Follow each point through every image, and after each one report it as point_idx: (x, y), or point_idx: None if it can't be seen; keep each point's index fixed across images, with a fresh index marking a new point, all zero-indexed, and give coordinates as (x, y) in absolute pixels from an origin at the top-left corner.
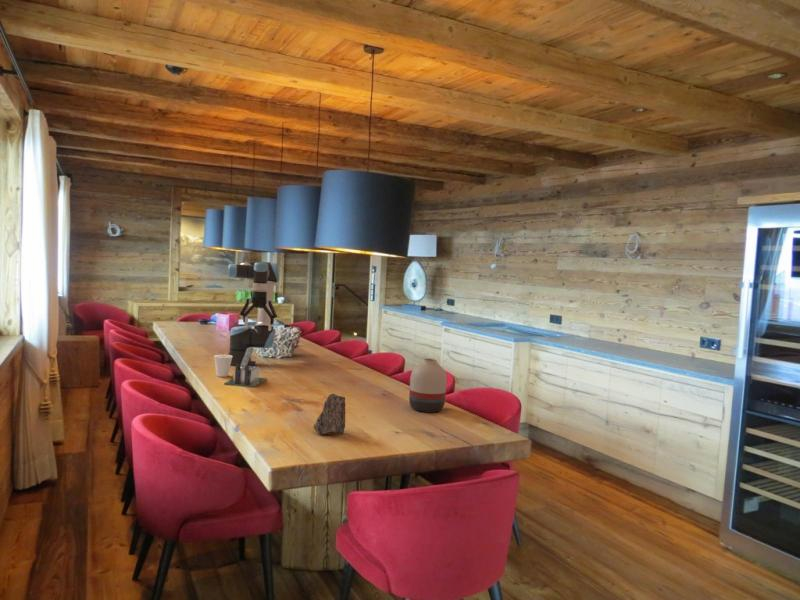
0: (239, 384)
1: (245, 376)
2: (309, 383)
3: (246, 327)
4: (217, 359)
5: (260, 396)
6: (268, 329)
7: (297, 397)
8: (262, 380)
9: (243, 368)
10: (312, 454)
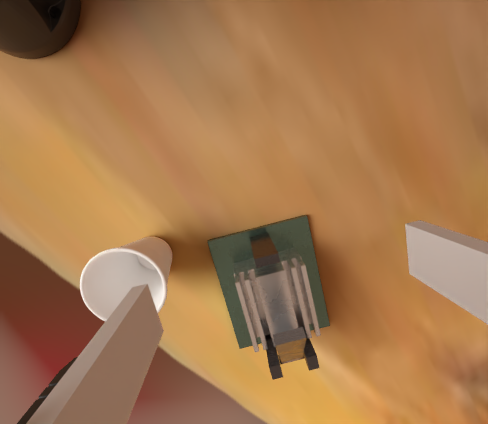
0: None
1: None
2: (449, 177)
3: (154, 318)
4: None
5: (390, 391)
6: (420, 280)
7: (476, 350)
8: (312, 254)
9: (297, 359)
10: None
